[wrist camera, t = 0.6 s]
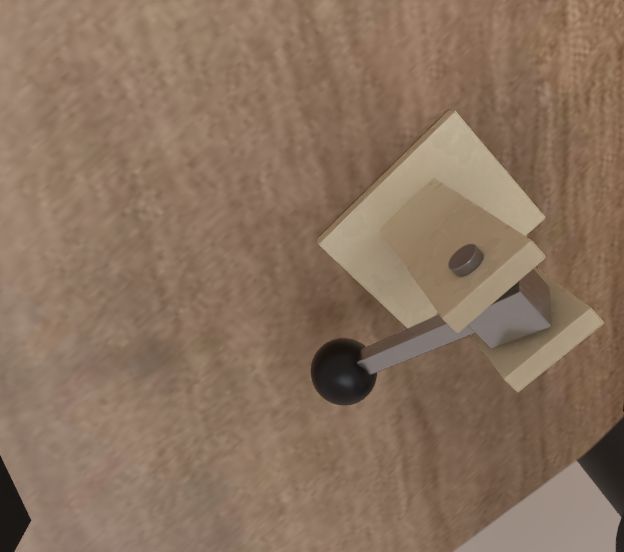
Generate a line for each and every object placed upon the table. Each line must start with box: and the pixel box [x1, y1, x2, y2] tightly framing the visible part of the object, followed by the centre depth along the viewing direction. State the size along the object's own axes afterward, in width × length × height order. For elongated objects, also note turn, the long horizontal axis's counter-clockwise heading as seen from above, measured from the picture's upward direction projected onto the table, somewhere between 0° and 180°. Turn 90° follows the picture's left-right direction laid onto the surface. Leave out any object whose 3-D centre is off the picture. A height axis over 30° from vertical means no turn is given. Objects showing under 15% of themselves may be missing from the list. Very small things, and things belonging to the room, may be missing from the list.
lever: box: [311, 269, 551, 405], centre depth 26 cm, size 13×4×4 cm, turn 135°
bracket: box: [317, 110, 604, 392], centre depth 27 cm, size 11×9×14 cm
